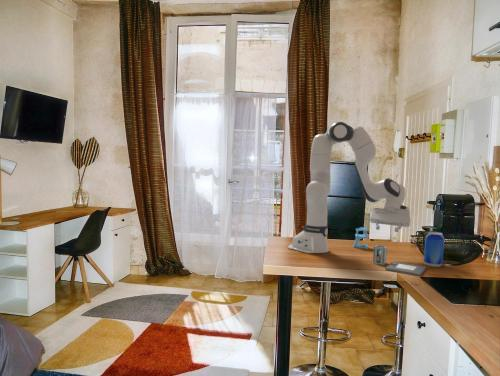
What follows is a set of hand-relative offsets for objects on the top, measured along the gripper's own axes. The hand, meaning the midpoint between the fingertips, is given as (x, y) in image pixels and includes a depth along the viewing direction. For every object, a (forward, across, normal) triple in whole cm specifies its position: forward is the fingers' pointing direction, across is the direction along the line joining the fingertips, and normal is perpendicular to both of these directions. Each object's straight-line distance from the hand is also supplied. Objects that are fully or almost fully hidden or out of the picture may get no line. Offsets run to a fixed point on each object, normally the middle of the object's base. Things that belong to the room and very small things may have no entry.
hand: (386, 230), depth 200 cm
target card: (+20, +13, +1) cm, 24 cm away
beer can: (+8, +22, +14) cm, 27 cm away
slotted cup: (+18, 0, +4) cm, 18 cm away
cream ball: (+14, 0, +1) cm, 14 cm away
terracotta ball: (+17, -1, +2) cm, 17 cm away
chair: (-3, -19, +25) cm, 31 cm away
